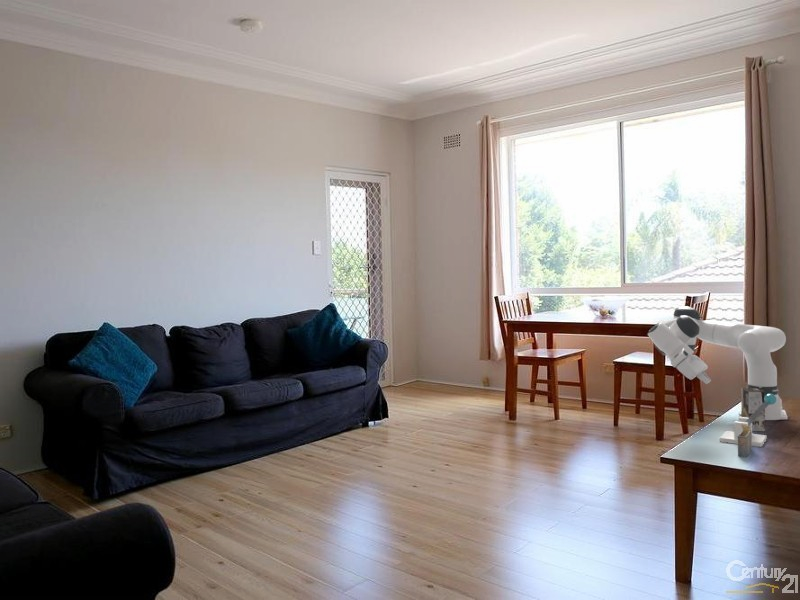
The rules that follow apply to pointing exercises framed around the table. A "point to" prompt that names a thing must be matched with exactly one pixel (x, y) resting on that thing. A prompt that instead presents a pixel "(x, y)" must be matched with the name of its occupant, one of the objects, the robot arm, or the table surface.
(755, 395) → the coffee box
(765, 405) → the lever
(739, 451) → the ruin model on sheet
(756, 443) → the lever stand
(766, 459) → the table surface
